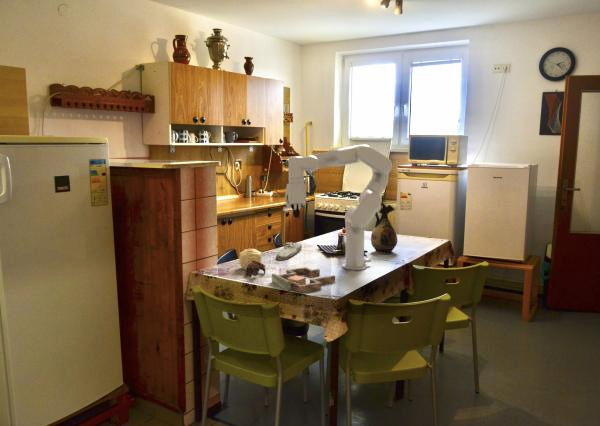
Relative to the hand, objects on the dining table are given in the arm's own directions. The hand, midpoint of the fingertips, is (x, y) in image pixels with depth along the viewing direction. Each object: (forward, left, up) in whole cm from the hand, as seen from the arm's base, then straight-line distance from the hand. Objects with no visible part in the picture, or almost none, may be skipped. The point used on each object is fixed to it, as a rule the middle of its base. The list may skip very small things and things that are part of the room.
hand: (296, 217), depth 249 cm
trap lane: (+8, +22, -27) cm, 36 cm away
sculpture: (+20, -13, -27) cm, 36 cm away
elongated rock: (-14, -33, -28) cm, 46 cm away
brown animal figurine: (+23, 0, -27) cm, 36 cm away
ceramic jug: (-63, -8, -27) cm, 69 cm away
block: (+14, +25, -27) cm, 40 cm away
